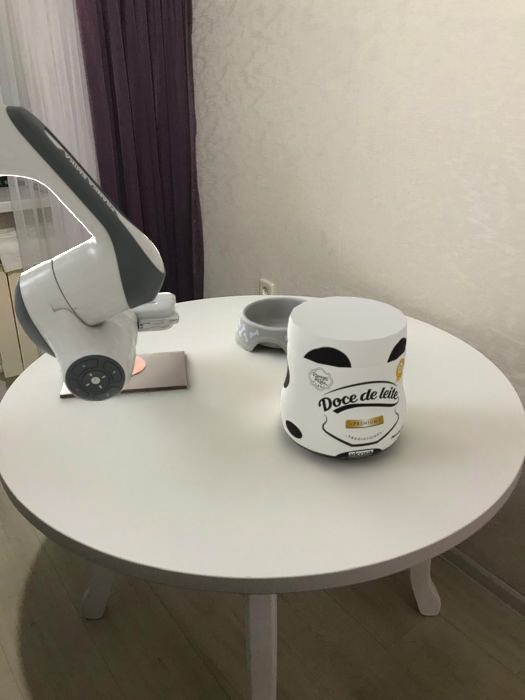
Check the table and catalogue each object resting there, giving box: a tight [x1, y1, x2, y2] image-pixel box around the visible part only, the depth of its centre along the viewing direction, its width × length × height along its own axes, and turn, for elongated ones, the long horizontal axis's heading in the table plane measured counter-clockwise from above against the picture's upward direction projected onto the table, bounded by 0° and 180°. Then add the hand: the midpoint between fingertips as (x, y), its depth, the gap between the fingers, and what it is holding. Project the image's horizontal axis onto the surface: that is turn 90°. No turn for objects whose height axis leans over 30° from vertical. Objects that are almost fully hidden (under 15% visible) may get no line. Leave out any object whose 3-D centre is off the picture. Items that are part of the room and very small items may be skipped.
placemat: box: [59, 350, 188, 399], centre depth 100 cm, size 20×13×1 cm, turn 99°
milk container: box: [279, 295, 408, 460], centre depth 80 cm, size 17×17×18 cm
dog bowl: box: [234, 296, 309, 356], centre depth 113 cm, size 17×18×5 cm
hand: (113, 295), depth 97 cm, fingers closed on can, 6 cm apart
